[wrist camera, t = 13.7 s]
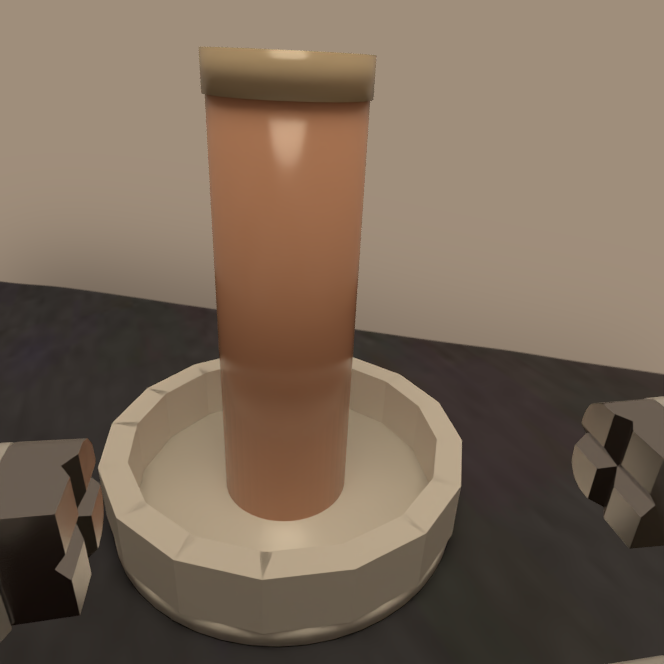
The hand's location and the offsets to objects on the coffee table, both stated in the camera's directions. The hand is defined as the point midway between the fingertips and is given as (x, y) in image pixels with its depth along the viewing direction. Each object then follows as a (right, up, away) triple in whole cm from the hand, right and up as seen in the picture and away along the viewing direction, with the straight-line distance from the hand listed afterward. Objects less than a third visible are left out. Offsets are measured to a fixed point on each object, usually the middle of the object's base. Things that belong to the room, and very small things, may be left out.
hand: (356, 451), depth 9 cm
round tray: (-2, -5, +15) cm, 16 cm away
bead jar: (-2, -4, +14) cm, 15 cm away
